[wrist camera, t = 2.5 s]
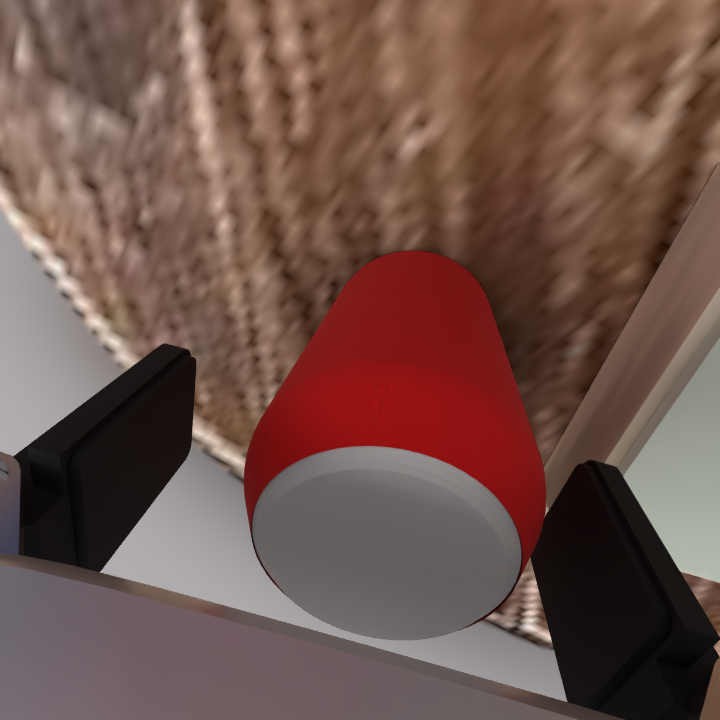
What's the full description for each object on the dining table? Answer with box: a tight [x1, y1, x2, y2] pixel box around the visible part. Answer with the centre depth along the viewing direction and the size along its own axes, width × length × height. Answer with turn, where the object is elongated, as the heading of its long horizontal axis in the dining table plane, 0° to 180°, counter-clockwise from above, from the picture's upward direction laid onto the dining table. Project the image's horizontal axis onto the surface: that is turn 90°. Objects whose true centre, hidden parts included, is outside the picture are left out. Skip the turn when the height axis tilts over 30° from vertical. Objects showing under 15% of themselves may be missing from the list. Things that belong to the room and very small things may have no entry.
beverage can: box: [244, 251, 546, 640], centre depth 13 cm, size 6×6×12 cm
